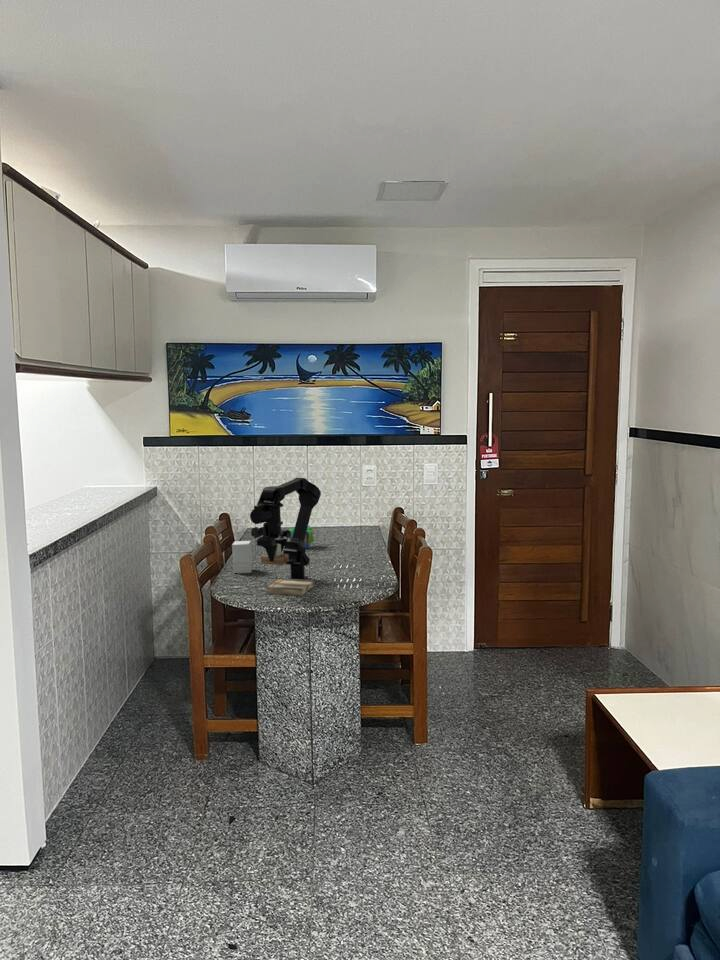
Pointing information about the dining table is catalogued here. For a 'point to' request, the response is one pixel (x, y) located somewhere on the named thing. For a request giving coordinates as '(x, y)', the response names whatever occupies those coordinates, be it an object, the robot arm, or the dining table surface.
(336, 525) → the dining table surface
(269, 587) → the birch dock
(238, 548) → the supplement box
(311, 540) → the snack cup
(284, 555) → the walnut pallet
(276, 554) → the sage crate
